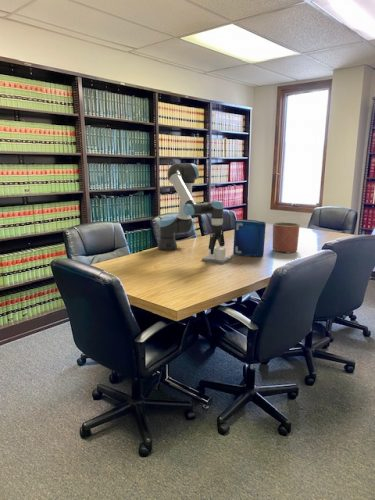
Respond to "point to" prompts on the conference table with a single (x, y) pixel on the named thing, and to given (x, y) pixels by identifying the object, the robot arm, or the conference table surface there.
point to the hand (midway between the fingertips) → (216, 257)
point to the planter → (285, 236)
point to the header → (216, 260)
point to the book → (249, 238)
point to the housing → (218, 253)
